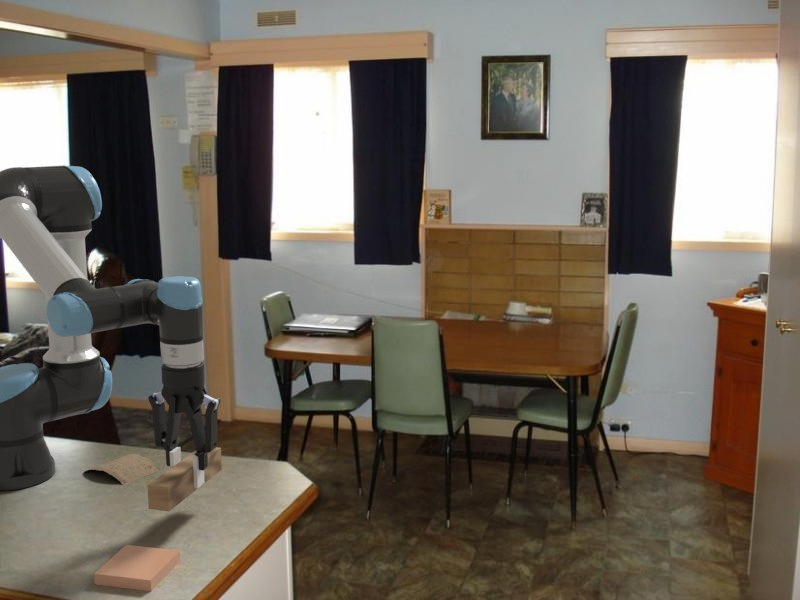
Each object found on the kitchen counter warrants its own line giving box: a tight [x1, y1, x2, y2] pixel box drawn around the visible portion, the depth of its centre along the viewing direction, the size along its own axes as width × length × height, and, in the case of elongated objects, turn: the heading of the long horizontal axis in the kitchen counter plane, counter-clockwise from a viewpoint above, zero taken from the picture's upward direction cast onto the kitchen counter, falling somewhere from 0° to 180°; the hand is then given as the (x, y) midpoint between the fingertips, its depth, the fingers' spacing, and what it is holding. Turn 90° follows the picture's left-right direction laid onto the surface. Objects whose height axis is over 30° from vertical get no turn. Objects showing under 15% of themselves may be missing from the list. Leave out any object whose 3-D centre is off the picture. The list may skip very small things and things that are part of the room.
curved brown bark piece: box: [84, 453, 161, 485], centre depth 183 cm, size 14×10×3 cm
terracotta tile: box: [93, 544, 181, 592], centre depth 141 cm, size 2×10×10 cm
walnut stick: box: [147, 446, 223, 513], centre depth 158 cm, size 20×4×4 cm, turn 165°
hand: (187, 483), depth 158 cm, fingers closed on walnut stick, 4 cm apart
